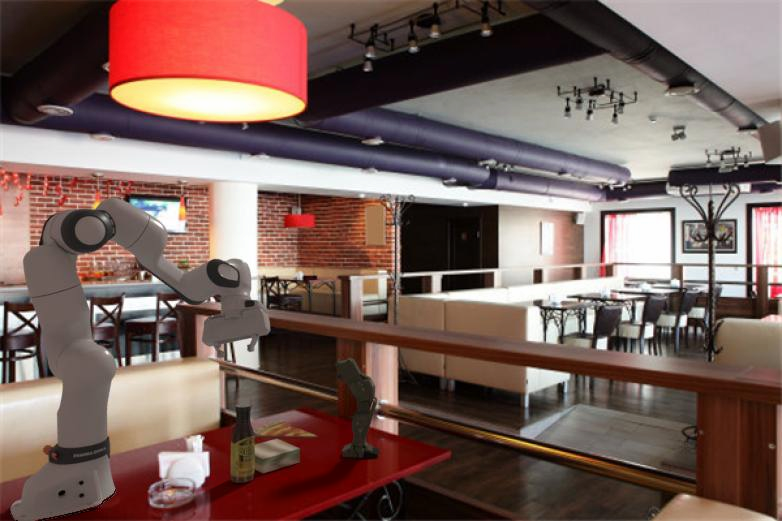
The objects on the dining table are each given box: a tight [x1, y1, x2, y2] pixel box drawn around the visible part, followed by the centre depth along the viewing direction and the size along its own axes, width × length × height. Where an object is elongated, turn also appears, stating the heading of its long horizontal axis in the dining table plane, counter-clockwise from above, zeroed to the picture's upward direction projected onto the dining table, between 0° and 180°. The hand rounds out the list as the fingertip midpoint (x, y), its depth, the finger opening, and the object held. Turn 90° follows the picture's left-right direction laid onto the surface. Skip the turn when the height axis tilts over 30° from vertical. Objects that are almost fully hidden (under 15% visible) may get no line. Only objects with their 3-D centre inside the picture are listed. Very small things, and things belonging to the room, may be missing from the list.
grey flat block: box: [255, 438, 301, 474], centre depth 167 cm, size 12×12×4 cm
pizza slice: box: [253, 418, 318, 438], centre depth 192 cm, size 16×22×2 cm
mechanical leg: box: [335, 357, 381, 459], centre depth 173 cm, size 14×7×30 cm, turn 84°
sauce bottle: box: [230, 403, 256, 484], centre depth 155 cm, size 7×6×20 cm
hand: (235, 354), depth 166 cm, fingers open, 8 cm apart
